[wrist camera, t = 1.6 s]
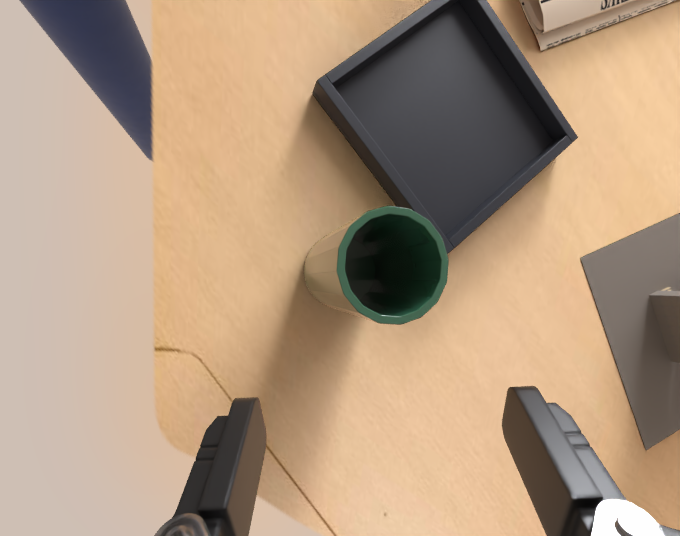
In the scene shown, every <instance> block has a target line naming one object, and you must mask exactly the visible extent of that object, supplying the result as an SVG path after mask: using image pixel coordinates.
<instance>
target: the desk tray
mask: <svg viewBox="0 0 680 536" xmlns="http://www.w3.org/2000/svg"><path fill="white" fill-rule="evenodd" d="M312 94H313V95H314V97H315V98H316V99H317V101H318V102H319V103H320V105H321V106H322V107H323V109H324V110H325V111H326V113H327V114H328V115H329V117H330V118H331V119H332V121H333V122H334V123H335V125H336V126H337V127H338V129H339V130H340V131H341V133H342V134H343V135H344V136H345V138H346V139H347V140H348V142H349V143H350V144H351V146H352V147H353V148H354V150H355V151H356V152H357V154H358V155H359V156H360V158H361V159H362V160H363V162H364V163H365V164H366V166H367V167H368V168H369V170H370V171H371V172H372V174H373V175H374V176H375V178H376V179H377V180H378V182H379V183H380V184H381V185H382V187H383V188H384V189H385V191H386V192H387V193H388V195H389V196H390V197H391V199H392V200H393V201H394V203H395V204H396V205H397V207H402V208H409V209H411V210H413V211H415V212H416V213H418V214H420V215H421V216H423V217H425V218H426V219H428V220H429V221H430V222H431V224H432V225H433V226H434V228H435V229H436V230H437V232H438V233H439V234H440V235H441V237H442V239H443V242H444V245H445V249H446V252H447V254H448V253H449V252H450V251H452V250H453V249H454V248H455V247H456V246H457V245H458V244H460V243H461V242H462V241H463V240H464V239H465V238H466V237H467V236H469V235H470V234H471V233H472V232H473V231H474V230H475V229H476V228H477V227H479V226H480V225H481V224H482V223H483V222H484V221H485V220H486V219H488V218H489V217H490V216H491V215H492V214H493V213H494V212H495V211H496V210H498V209H499V208H500V207H501V206H502V205H503V204H504V203H505V202H507V201H508V200H509V199H510V198H511V197H512V196H513V195H514V194H516V193H517V192H518V191H519V190H520V189H521V188H522V187H523V186H524V185H526V184H527V183H528V182H529V181H530V180H531V179H532V178H533V177H535V176H536V175H537V174H538V173H539V172H540V171H541V170H542V169H543V168H545V167H546V166H547V165H548V164H549V163H550V162H551V161H552V160H554V159H555V158H556V157H557V156H558V155H559V154H560V153H561V152H563V151H564V150H565V149H566V148H567V147H568V146H569V145H570V144H571V143H572V142H573V141H575V140H576V139H577V138H578V137H577V135H576V134H575V132H574V131H573V129H572V128H571V126H570V125H569V123H568V122H567V120H566V119H565V117H564V116H563V114H562V113H561V111H560V110H559V108H558V107H557V105H556V104H555V102H554V101H553V99H552V98H551V96H550V95H549V93H548V92H547V90H546V89H545V87H544V86H543V84H542V83H541V81H540V80H539V78H538V77H537V75H536V74H535V72H534V71H533V69H532V68H531V66H530V65H529V63H528V62H527V60H526V59H525V57H524V56H523V54H522V53H521V51H520V50H519V48H518V47H517V45H516V44H515V42H514V41H513V39H512V38H511V36H510V35H509V33H508V32H507V30H506V29H505V27H504V26H503V24H502V23H501V21H500V20H499V18H498V17H497V15H496V14H495V12H494V11H493V9H492V8H491V6H490V5H489V3H488V2H487V0H431V1H430V2H428V3H427V4H425V5H424V6H423V7H421V8H420V9H418V10H417V11H415V12H414V13H413V14H411V15H410V16H408V17H407V18H405V19H404V20H402V21H401V22H400V23H398V24H397V25H395V26H394V27H392V28H391V29H390V30H388V31H387V32H385V33H384V34H382V35H381V36H380V37H378V38H377V39H375V40H374V41H372V42H371V43H370V44H368V45H367V46H365V47H364V48H362V49H361V50H360V51H358V52H357V53H355V54H354V55H352V56H351V57H349V58H348V59H347V60H345V61H344V62H342V63H341V64H339V65H338V66H337V67H335V68H334V69H332V70H331V71H329V72H328V73H327V74H325V75H324V76H322V77H321V78H320V79H318V80H317V81H316V84H315V87H314V90H313V93H312Z"/></svg>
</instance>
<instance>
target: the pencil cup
mask: <svg viewBox="0 0 680 536" xmlns="http://www.w3.org/2000/svg"><path fill="white" fill-rule="evenodd" d="M448 261H449V260H448V256H447V252H446V249H445V245H444V242H443V239H442V237H441V235H440V234H439V233H438V232H437V230H436V229H435V228H434V226H433V225H432V224H431V222H430V221H429V220H428V219H426V218H425V217H423V216H421V215H420V214H418V213H416V212H415V211H413V210H411V209H409V208H402V207H395V206H385V207H381V208H378V209H374V210H370V211H367V212H365V213H364V214H362V215H360V216H359V217H357V218H355V219H353V220H352V221H350V222H348V223H347V224H345V225H343V226H341V227H340V228H338V229H336V230H335V231H333V232H331V233H330V234H328V235H326V236H324V237H323V238H322V239H321V240H319V241H318V242H317V243H316V244H315V245H314V246H313V247H312V248H311V249H310V251H309V253H308V255H307V257H306V260H305V264H304V278H305V282H306V285H307V287H308V289H309V291H310V292H311V294H312V295H313V296H314V297H315V298H316V299H317V300H318V301H319V302H321V303H322V304H324V305H326V306H329V307H331V308H333V309H336V310H339V311H342V312H345V313H348V314H352V315H355V316H358V317H361V318H364V319H367V320H370V321H373V322H377V323H381V324H396V325H401V324H404V323H407V322H410V321H413V320H415V319H418V318H421V317H422V316H423V315H424V314H425V313H427V312H428V311H429V310H430V309H431V308H432V307H433V306H434V305H435V304H436V303H437V302H438V300H439V298H440V296H441V294H442V292H443V289H444V287H445V285H446V283H447V275H448Z"/></svg>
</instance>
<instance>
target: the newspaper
mask: <svg viewBox="0 0 680 536" xmlns="http://www.w3.org/2000/svg"><path fill="white" fill-rule="evenodd" d="M519 1H520V3H521V6H522V8H523V11H524V13H525V15H526V18H527V20H528V22H529V24H530V26H531V28H532V30H533V32H534V34H535V35H536V37H537V40H538V43H539V45H540V51H542V50H545V49H548V48H550V47H553V46H556V45H558V44H561V43H564V42H566V41H569V40H572V39H574V38H577V37H580V36H582V35H585V34H588V33H590V32H593V31H596V30H598V29H601V28H604V27H606V26H609V25H612V24H615V23H617V22H620V21H623V20H625V19H628V18H631V17H633V16H636V15H639V14H641V13H644V12H647V11H649V10H652V9H655V8H657V7H660V6H663V5H665V4H668V3H671V2H673V1H676V0H519Z"/></svg>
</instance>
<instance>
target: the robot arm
mask: <svg viewBox="0 0 680 536" xmlns="http://www.w3.org/2000/svg"><path fill="white" fill-rule="evenodd" d="M502 429H503V434H504V438H505V441H506V443H507V446H508V448H509V450H510V453H511V455H512V457H513V459H514V462H515V464H516V466H517V469H518V471H519V473H520V475H521V478H522V480H523V482H524V485H525V487H526V489H527V491H528V494H529V496H530V498H531V501H532V503H533V505H534V507H535V510H536V512H537V514H538V517H539V519H540V521H541V523H542V526H543V528H544V530H545V533H546V535H547V536H680V531H679V530H675V529H672V528H668V527H665V526H662V525H660V524H658V523H657V522H656V521H655V520H654V519H653V518H652V517H651V516H650V515H649V514H648V513H647V512H645V511H644V510H643V509H641V508H640V507H638V506H636V505H634V504H632V503H630V502H628V501H627V500H626V498H625V497H624V496H623V494H622V493H621V491H620V490H619V488H618V487H617V485H616V484H615V482H614V481H613V479H612V478H611V476H610V475H609V473H608V471H607V470H606V468H605V467H604V465H603V464H602V462H601V461H600V459H599V458H598V456H597V455H596V453H595V452H594V450H593V449H592V447H590V445H589V443H588V441H587V439H586V438H585V436H584V435H583V434H581V430H580V429H579V427H578V426H577V424H576V423H575V421H574V420H573V418H572V417H571V415H569V414H568V413H567V412H566V411H565V410H563V409H562V408H561V407H560V406H559V405H557V404H556V403H546V401H545V400H544V398H543V397H542V395H541V393H540V392H539V390H538V389H537V388H536V387H535V386H525V387H510V388H509V389H508V391H507V397H506V402H505V408H504V413H503V419H502ZM200 446H201V447H200V449H199V451H198V453H197V456H196V461H195V462H194V464H193V467H192V470H191V472H190V475H189V478H188V480H187V483H186V486H185V488H184V491H183V494H182V496H181V499H180V502H179V505H178V507H177V510H176V512H175V514H174V516H173V517H172V519H170V520H169V521H168V522H166V523H165V524H164V525H163V526H162V527H161V528H160V529H159V530H158V531H157V533H156V534H155V535H154V536H248V534H249V530H250V525H251V520H252V515H253V510H254V504H255V499H256V495H257V490H258V485H259V480H260V475H261V470H262V465H263V460H264V454H265V449H266V428H265V423H264V419H263V414H262V409H261V405H260V401H259V398H258V397H255V398H235V399H234V400H233V403H232V405H231V408H230V412H229V415H228V416H217V418H216V419H215V420H214V421H213V422H212V424H211V425H210V426H209V427H208V428H207V430H206V432H205V435H204V437H203V440H202V443H201V445H200Z"/></svg>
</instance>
